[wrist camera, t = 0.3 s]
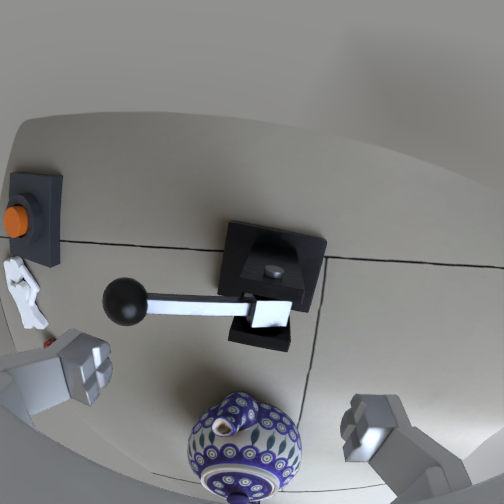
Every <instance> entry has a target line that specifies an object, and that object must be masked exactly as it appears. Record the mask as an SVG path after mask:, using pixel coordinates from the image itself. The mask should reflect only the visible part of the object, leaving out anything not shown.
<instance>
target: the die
mask: <svg viewBox="0 0 504 504" xmlns="http://www.w3.org/2000/svg"><path fill="white" fill-rule="evenodd" d="M53 342H55V341H54V340H53V339H50V340H48V341H46V342H44V349H46V348H47V347H49V346H50V345H51V344H52V343H53Z"/></svg>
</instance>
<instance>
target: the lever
mask: <svg viewBox="0 0 504 504" xmlns="http://www.w3.org/2000/svg"><path fill="white" fill-rule="evenodd" d="M102 302H103V308H104V311H105V313H106V315H107V316H108V317H109V319H110V320H112V321H113V322H114V323H116V324H118V325H122V326H132V325H135V324H137V323H139V322H140V321H141V320H142V319H143V318H144V317H145V316H146V314H165V315H195V316H244V317H245V318H246V320H247V322H248V323H249V325H250V327H251V328H260V327H286V325H287V321H288V317H289V314H290V310H291V306H292V302H289V301H284V300H278V299H273V298H268V297H263V296H259V295H254V294H249V293H245V294H244V297H231V296H200V295H178V294H158V293H147V291H146V289H145V288H144V287H143V285H142V284H140V283H139V282H138V281H136V280H134V279H132V278H127V277H123V278H118V279H116V280H114V281H112V282H111V283H110V284H109V285H108V286H107V287H106V289H105V291H104V294H103V299H102Z"/></svg>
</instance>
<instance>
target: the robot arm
mask: <svg viewBox="0 0 504 504" xmlns="http://www.w3.org/2000/svg"><path fill="white" fill-rule="evenodd" d="M110 353H111V350H110V344H109V343H108V342H106V341H103V340H101V339H98V338H96V337H93V336H91V335H88V334H86V333H83V332H81V331H78V330H76V329H69V330H68V331H67V332H66V333H64V334H63V335H62V336H61V337H60V338H58V339H57V340H56V341H55V342H53V343H52V344H51V345H50V346H49V347H47V348H46V349H43V348H39V349H34V350H29V351H24V352H19V353H14V354H10V355H4V356H0V504H223V503H218V502H213V501H208V500H204V499H199V498H195V497H191V496H186V495H183V494H179V493H176V492H172V491H169V490H165V489H162V488H159V487H156V486H153V485H150V484H147V483H144V482H141V481H139V480H136V479H133V478H131V477H128V476H126V475H123V474H121V473H118V472H116V471H113V470H111V469H109V468H106V467H104V466H102V465H100V464H98V463H96V462H94V461H92V460H89V459H87V458H85V457H84V456H82V455H79V454H78V453H76V452H74V451H72V450H70V449H68V448H67V447H65V446H63V445H61V444H59V443H58V442H56V441H54V440H52V439H51V438H49V437H48V436H46V435H45V434H43V433H41V432H40V431H38V430H36V429H35V426H34V424H33V422H32V420H31V418H30V416H31V415H33V414H36V413H38V412H41V411H43V410H45V409H48V408H50V407H52V406H55V405H57V404H59V403H62V402H64V401H66V400H69V399H70V398H72V399H75V400H77V401H79V402H81V403H83V404H86V405H88V406H90V407H91V405H92V404H93V403H94V401H95V400H96V399H97V397H98V396H99V395H100V394H99V389H101V388H104V387H106V386H107V384H108V383H109V382H110V379H111V376H112V370H113V367H112V362H111V360H110V359H109V357H108V355H109V354H110ZM350 404H351V408H350V409H349V410H347V411H346V412H345V413H344V416H343V418H342V421H341V425H340V433H341V437H342V438H343V439H344V440H345V441H346V443H345V444H344V446H343V451H344V457H345V462H369V464H370V466H371V467H372V468H373V469H374V470H375V471H376V473H377V474H378V475H379V476H380V477H381V478H382V479H383V481H384V482H385V483H386V484H387V485H388V486H389V488H390V489H391V490H392V491H393V492H394V493H395V494H396V495H397V498H396V499H395V500H394V501H392V502H391V503H390V504H504V473H502V474H500V475H498V476H495V477H493V478H491V479H488V480H486V481H483V482H481V483H478V484H475V485H472V483H471V480H470V478H469V476H468V474H467V471H466V470H465V467H464V465H463V462H462V460H461V459H459V458H458V457H457V456H455V455H454V454H452V453H451V452H450V451H448V450H447V449H445V448H444V447H443V446H441V445H440V444H439V443H437V442H436V441H434V440H433V439H432V438H430V437H429V436H428V435H426V434H425V433H424V432H422V431H421V430H419V429H418V428H417V427H412V426H411V423H410V421H409V419H408V416H407V414H406V412H405V409H404V407H403V405H402V403H401V400H400V398H399V396H397V395H371V394H355V395H354V396H353V398H352V400H351V402H350Z"/></svg>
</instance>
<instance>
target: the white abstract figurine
mask: <svg viewBox="0 0 504 504" xmlns="http://www.w3.org/2000/svg"><path fill="white" fill-rule="evenodd" d="M4 268H5V274H6V280H7V285H8V290H9V291H10V292H11V294H12V296H13V298H14V300H15V302H16V305H17V306H18V309H19V312H20V313H21V317H22V322H23V326H24V327H25V328H28V329H31V328H32V327H33V326H35V327H36V328H37V329H44V328H45V327H46V326H48V325H49V323H48V321H47V320H46V319H45V317H44V316H43V315H42V313H40V312H39V310H38V309H37V308H38V307H37V305H36V304H35V299H36V295H37V292H39V290H40V288H39V286H38V284H37V282H36V281H35V279H34V278H33V277H32V275H31V274H30V272H29V271H28V269H27V268H26V266H25V265H24V263H23V260H22V259H21V257H20V256H16V257H14V258H12V257H11V258H9V259H8V260H6V261H4ZM23 277H24V279H25V280H26V281H27V282H25V281H22V280H23ZM14 281H15V283H14ZM21 281H22V282H21ZM19 282H20V283H19ZM28 284H29V285H28ZM29 286H30V287H29Z"/></svg>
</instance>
